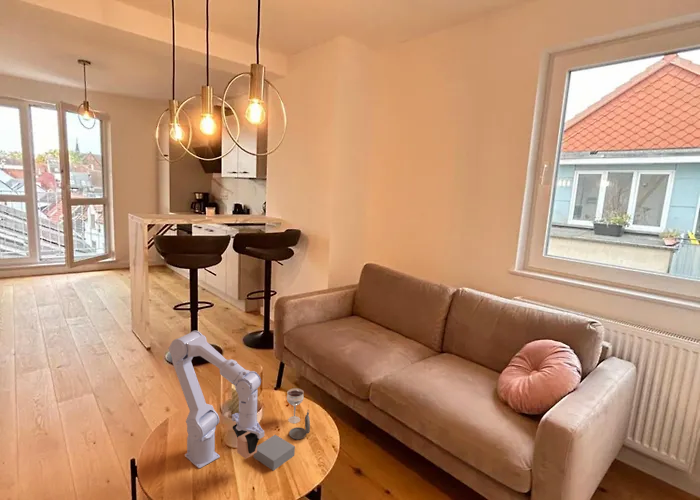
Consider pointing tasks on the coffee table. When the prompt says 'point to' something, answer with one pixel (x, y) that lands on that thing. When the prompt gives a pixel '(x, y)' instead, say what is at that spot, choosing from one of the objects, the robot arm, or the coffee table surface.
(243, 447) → the terracotta block
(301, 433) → the pocket watch
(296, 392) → the wineglass
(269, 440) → the slate slab
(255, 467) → the coffee table surface
